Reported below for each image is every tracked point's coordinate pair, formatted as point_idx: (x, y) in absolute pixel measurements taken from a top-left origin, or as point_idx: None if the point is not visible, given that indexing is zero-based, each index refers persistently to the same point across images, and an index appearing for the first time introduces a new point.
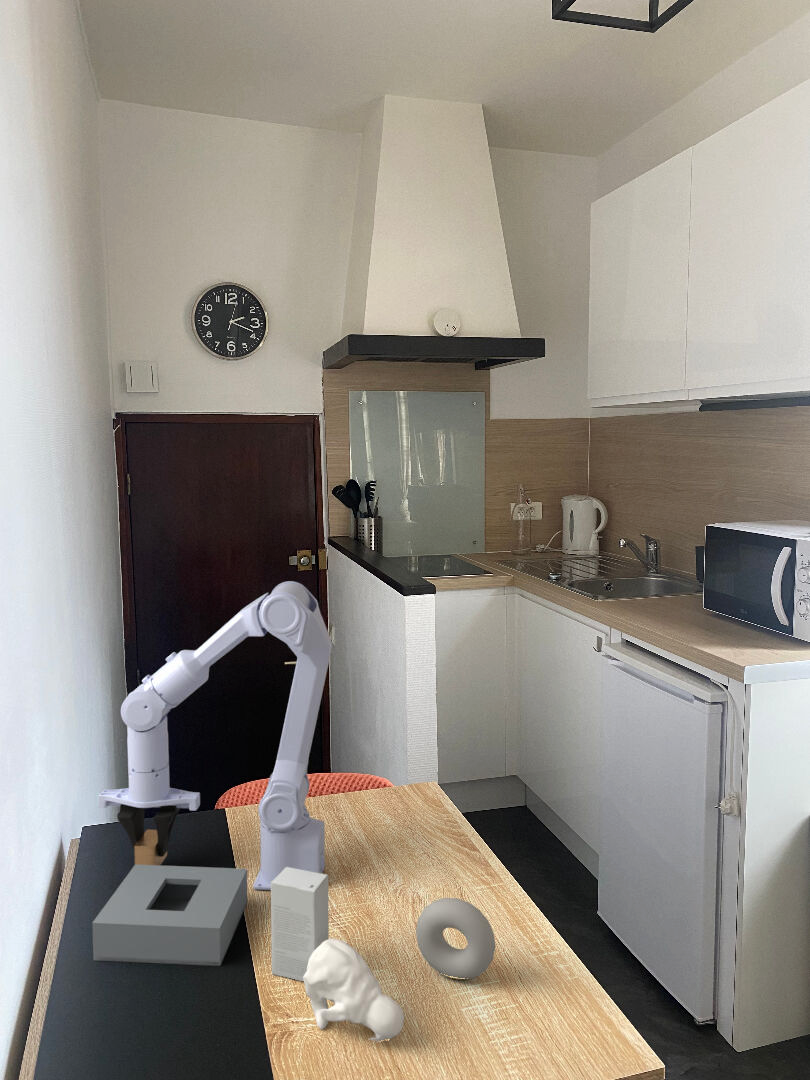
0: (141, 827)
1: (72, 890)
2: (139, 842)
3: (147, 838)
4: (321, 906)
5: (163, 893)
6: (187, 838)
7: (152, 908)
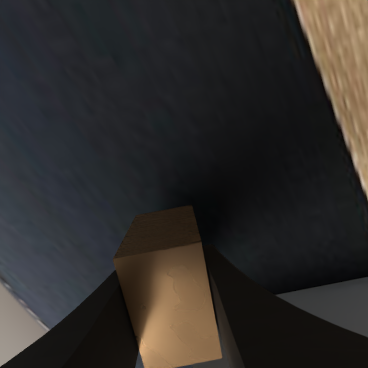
0: (109, 334)
1: (47, 323)
2: (148, 348)
3: (161, 318)
4: None
5: None
6: (162, 31)
7: None
